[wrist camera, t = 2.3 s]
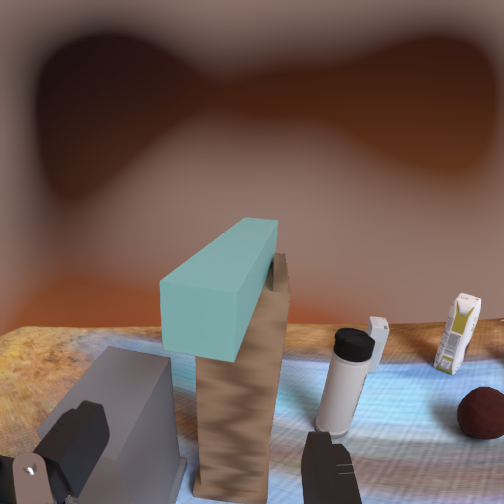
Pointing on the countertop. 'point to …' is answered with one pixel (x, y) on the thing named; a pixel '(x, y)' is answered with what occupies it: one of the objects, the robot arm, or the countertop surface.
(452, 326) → the juice carton
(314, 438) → the robot arm
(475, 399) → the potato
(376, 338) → the skincare box
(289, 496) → the countertop surface
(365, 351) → the travel mug
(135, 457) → the charcoal pedestal
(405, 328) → the countertop surface
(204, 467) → the walnut stand
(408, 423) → the countertop surface
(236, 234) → the teal bar
